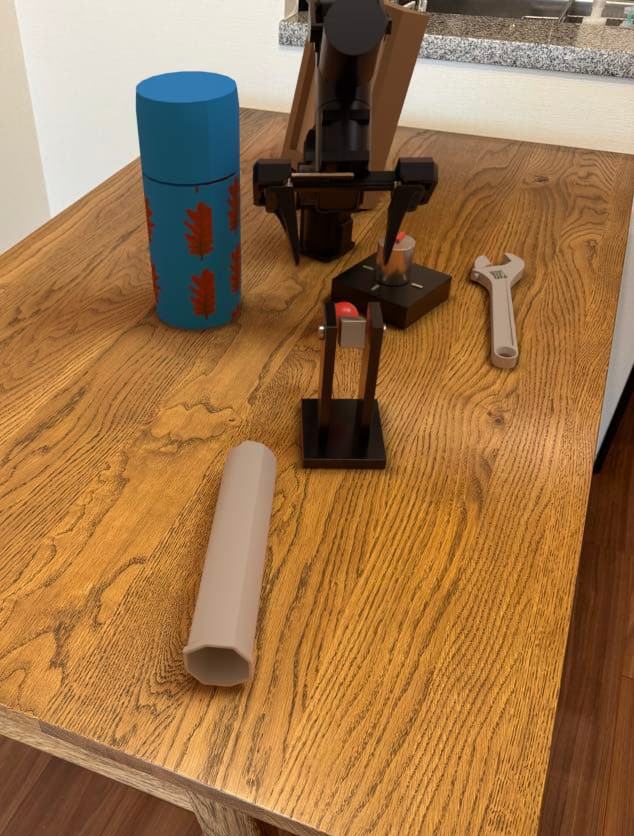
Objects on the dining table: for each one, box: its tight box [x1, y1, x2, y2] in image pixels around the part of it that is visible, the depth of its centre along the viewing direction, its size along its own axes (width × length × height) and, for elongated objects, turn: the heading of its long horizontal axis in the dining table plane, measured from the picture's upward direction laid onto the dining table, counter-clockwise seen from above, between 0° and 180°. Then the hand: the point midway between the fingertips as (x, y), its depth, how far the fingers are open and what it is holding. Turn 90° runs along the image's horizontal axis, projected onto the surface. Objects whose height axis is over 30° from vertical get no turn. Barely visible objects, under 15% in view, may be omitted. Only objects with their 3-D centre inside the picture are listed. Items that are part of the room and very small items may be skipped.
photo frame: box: [280, 0, 430, 210], centre depth 116 cm, size 15×22×25 cm
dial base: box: [329, 251, 453, 331], centre depth 97 cm, size 11×10×3 cm
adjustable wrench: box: [469, 252, 526, 370], centre depth 95 cm, size 25×6×2 cm, turn 164°
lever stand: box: [300, 301, 388, 470], centre depth 74 cm, size 10×8×14 cm
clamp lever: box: [335, 302, 366, 349], centre depth 75 cm, size 12×3×3 cm, turn 177°
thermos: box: [135, 70, 242, 331], centre depth 89 cm, size 11×11×25 cm
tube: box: [182, 439, 278, 688], centre depth 66 cm, size 5×5×25 cm
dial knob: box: [374, 231, 417, 286], centre depth 94 cm, size 4×4×5 cm
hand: (341, 265), depth 82 cm, fingers open, 9 cm apart
